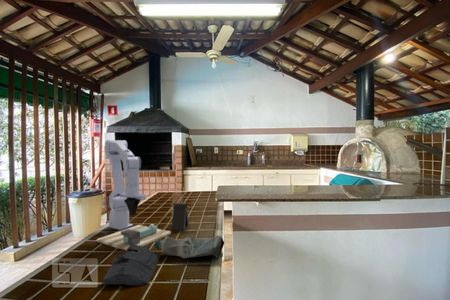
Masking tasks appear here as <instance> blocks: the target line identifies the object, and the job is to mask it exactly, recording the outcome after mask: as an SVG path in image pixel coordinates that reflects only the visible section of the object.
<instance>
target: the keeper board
mask: <svg viewBox="0 0 450 300" xmlns="http://www.w3.org/2000/svg"><path fill="white" fill-rule="evenodd" d="M146 227H148V226H146V225H141V224H137V225H133V226H130V227H127V228H124V229H121V230H118V231H116V232H114V233H111V234H108V235H105V236H102V237H99V238H97V239H96V242H97V243H99V244H104V245H106V246H109V247H113V248H116V249H120V250H122V251H125V252H127V248H128V247H129V246H130V245H131V244H135V245H138V246H147V245H149V244H151V243H153V242H156V241H159V240H161V239H162V238H166V236H170V235H171V234H172V231H169V230H165V229H159V228H157V232H156V233H154V234H150V235H148V236H145V237H142V238H140V232H139V231H138V230H141V229H144V228H146ZM124 235H125V236H129V243H126V242H123V236H124Z"/></svg>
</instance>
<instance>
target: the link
mask: <svg viewBox="0 0 450 300" xmlns="http://www.w3.org/2000/svg"><path fill="white" fill-rule="evenodd" d="M157 229H158V226H157V225H155V224H153V223H151V224H150V225H148V226H147V227H146V228H144V229H141V230H138V231H139V232H140V238H142V237H145V236H148V235H150V234H154V233H156V232H157ZM123 242H126V243H129V236H125V235H124V236H123Z"/></svg>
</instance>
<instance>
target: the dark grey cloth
mask: <svg viewBox="0 0 450 300" xmlns="http://www.w3.org/2000/svg"><path fill="white" fill-rule="evenodd" d="M160 257H161V254H160V253H157V252H155V251H152V250H150V249H149V247H148V246H146V245H144V246H138V245H135V244H131V245H130V246H129V247H128V248H127V251H125V252H124V253H123V254H120V255H116V256H115V258H114V259H113V262H112V264H111V266H110V267H109V268H108V269H107V271H106V273H105V275H104V276H103V278H102V283H103V284H104V285H125V286H137V287H139V286H144V285H148V284H149V283H150V281H151V278H152V276H153V275H154V272H155V271H156V268H157V265H158V263H159V260H160V259H161V258H160Z"/></svg>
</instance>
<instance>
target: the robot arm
mask: <svg viewBox="0 0 450 300" xmlns="http://www.w3.org/2000/svg"><path fill="white" fill-rule="evenodd" d="M104 152H105V156H106V158H107V159H109V162H110V167H111V168H110V169H111V172H112V173H111V175H112V181H113V188H114V190H113V191H112V192H110V194H109V196H108V198H109V201H108V203H109V204H108V205H109V208H110V209H111V210H110V211H109V215H108V216H109V217H108V221H109V222H108V224H109V225H107V228H110V229H114V230H118V231H122V230H125V229H128V228H131V227H134V224H132V223H130V216H135V215H136V213H137V210H138V206H139V204H140V202H141V201H145V200H146V197H147V195H146V194H142V192H140V170H141V167H142V160H141V157H140V156H135V154H134V153H133V152H132V151H131V150H130V149H128V142H127V140H125V139H124V140H123V139H122V140H119V139H117V140H113V139H112V140H111V139H110V140H109V139H106V141H105V143H104ZM122 168H123V169H122ZM123 174H124V175H125V176H124V175H123ZM124 178H125V181H124Z"/></svg>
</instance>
